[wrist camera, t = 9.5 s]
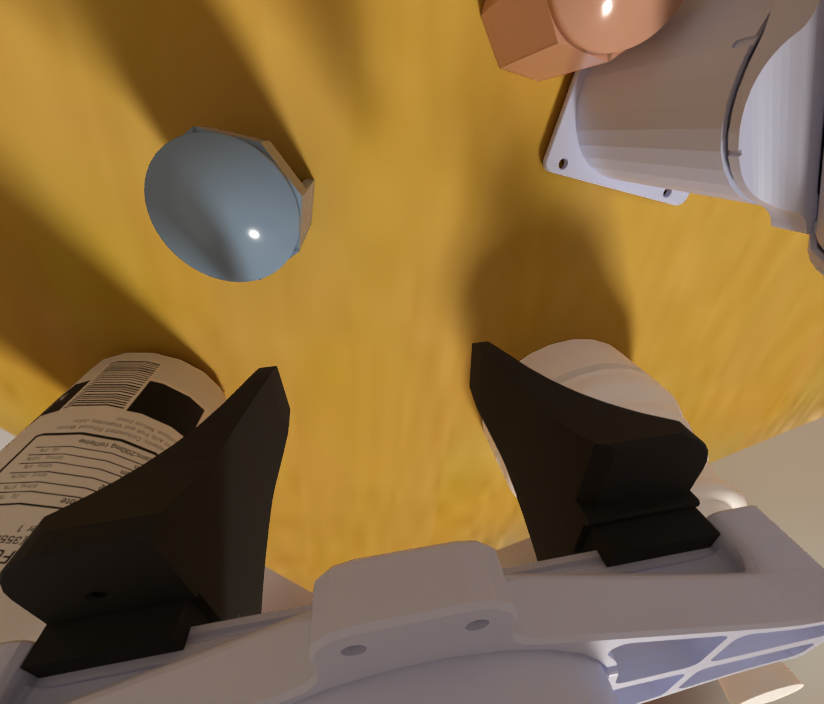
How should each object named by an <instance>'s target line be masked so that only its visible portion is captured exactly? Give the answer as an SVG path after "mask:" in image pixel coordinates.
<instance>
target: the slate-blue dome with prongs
mask: <svg viewBox="0 0 824 704" xmlns="http://www.w3.org/2000/svg"><path fill="white" fill-rule="evenodd" d="M144 192H145V202H146V206H147V211H148V213H149V216H150V219H151V221H152V223H153V225H154V227H155V229H156V231H157V233H158V234H159V236H160V237H161V239H162V240H163V241H164V243H165V244H166V245H167V246H168V248H169V249H170V250H171V251H172V252H173V253H174V254H175V255H176V256H178V257H179V258H180V259H181V260H182V261H183V262H185V263H186V264H188V265H189V266H191V267H192V268H194V269H196V270H198V271H199V272H201V273H203V274H206V275H208V276H211V277H214V278H217V279H220V280H226V281H233V282H248V281H254V280H261V279H262V278H264V277H266V276H269V275H271V274H272V273H274V272H276V271H277V270H278V269H279V268H281V267H282V266H283V265H284V264H285V262H286V261H287V260H288V259H289V258H291V257H292V256H293V255H295V254H296V253H298V252H299V251H300V249H301V246H302V244H303V241H304V239H305V237H306V234H307V232H308V230H309V227H310V225H311V223H312V222H311V221H312V207H313V194H314V180H311V179H307V178H306V179H305V180H304V181H303V182H302V183H301V181H300V180H299V179H298V177H297V176H296V175H295V173H294V172H293V171H292V169H291V168H290V167H289V165H288V164H287V163H286V161H285V160H284V159H283V157H282V156H281V155H280V153H279V152H278V151H277V149H276V148H275V147H274V145H273V144H272V143H271V141H267V140H263V139H259V138H255V137H250V136H246V135H242V134H238V133H234V132H230V131H225V130H221V129H217V128H213V127H203V126H193V127H192V128H191V129H189V130H188V131H187V132H186V133H185V134H184V135H183V136H179V137H177V138H175V139H173V140H171V141H169V142H168V143H167V144H165V145H164V146H163V147H162V148H161V149H160V150H159V151H158V152H157V153H156V154H155V156H154V157H153V159H152V161H151V162H150V164H149V167H148V170H147V173H146V178H145V188H144Z"/></svg>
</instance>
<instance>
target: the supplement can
mask: <svg viewBox="0 0 824 704" xmlns="http://www.w3.org/2000/svg"><path fill="white" fill-rule="evenodd" d="M225 401H226V398H225V396H224V394H223V392H222V390H221V388H220V387H219V386H218V385H217V384H216V383H215V382H214V381H213V380H212V379H211V378H210V377H209V376H208V375H207V374H206V373H205V372H203V371H201V370H199V369H197V368H195V367H193V366H192V365H190V364H188V363H186V362H184V361H182V360H180V359H176V358H172V357H168V356H164V355H160V354H156V353H123V354H120V355H117V356H113V357H110V358H106V359H103V360H102V361H100V362H99V363H98V364H97V365H95V366H94V367H93V368H92V369H91V370H89V371H88V372H87V373H86V374H85V375H84V376H83V377H81V378H80V379H79V380H78V381H77V382H76V383H75V384H74V385H73V386H72V387H70V388H69V389H68V390H67V391H66V392H65V393H64V394H63V395H62V396H61V397H59V398H58V399H57V400H56V401H55V402H54V403H53V404H52V405H51V406H50V407H48V408H47V409H46V410H45V411H44V412H43V413H42V414H41V415H40V416H39V417H37V418H36V419H35V420H34V421H33V422H32V423H31V424H30V425H29V426H28V427H26V428H25V429H24V430H23V431H22V432H21V433H20V434H19V435H18V436H17V437H16V438H14V439H13V440H12V441H11V442H10V443H9V444H8V445H7V446H6V447H5V448H3V449H2V450H1V451H0V572H1V570H2V569H3V568H4V567H5V565H6V564H7V563H8V562H9V560H10V559H11V558H12V557H13V555H14V554H15V553H16V552H17V550H18V549H19V548H20V546H21V545H22V544H23V543H24V541H25V540H26V539H27V538H28V536H29V535H30V534H31V533H32V531H33V530H34V529H35V528H36V526H37V525H38V524H39V523H40V521H41V520H42V519H43V518H44V517H45V516H47V515H49V514H51V513H53V512H56V511H58V510H60V509H62V508H64V507H66V506H68V505H70V504H72V503H74V502H76V501H78V500H80V499H82V498H84V497H86V496H88V495H90V494H92V493H94V492H96V491H98V490H100V489H101V488H103V487H105V486H107V485H109V484H111V483H112V482H114V481H116V480H118V479H120V478H121V477H123V476H125V475H126V474H128V473H130V472H132V471H133V470H135V469H137V468H138V467H140V466H142V465H143V464H145V463H146V462H148V461H149V460H151V459H152V458H154V457H155V456H157V455H158V454H160V453H161V452H163V451H164V450H166V449H167V448H169V447H170V446H172V445H173V444H175V443H176V442H177V441H179V440H180V439H181V438H183V437H184V436H185V435H187V434H188V433H189V432H191V431H192V430H193V429H194V428H196V427H197V426H198V425H199V424H201V423H202V422H203V421H204V420H205V419H206V418H207V417H209V416H210V415H211V414H212V413H213V412H214V411H215V410H216V409H217V408H219V407H220V406H221V405H222V404H223V403H224V402H225ZM46 625H47V624H45V623H44V622H43V621H41V620H40V619H38V618H37V617H35V616H34V615H32V614H31V613H29V612H28V611H27V610H25V609H24V608H22V607H21V606H19V605H18V604H16V603H15V602H13V601H12V600H11V599H10V598H9V597H8V596H7V595H5V594H4V593H3V591H2V588H1V585H0V643H3V642H8V641H14V640H30V641H35V642H36V641H37V639H38V638H39V636H40V634H41V633H42V631H43V629H44V628H45V626H46Z"/></svg>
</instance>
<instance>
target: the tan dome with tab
mask: <svg viewBox="0 0 824 704" xmlns="http://www.w3.org/2000/svg"><path fill="white" fill-rule="evenodd" d="M683 1H684V0H485V2H484V6H483V10H482V14H481V18H482V20H483V23H484V26H485V29H486V31H487V34H488V37H489V40H490V42H491V45H492V48H493V51H494V53H495V56H496V59H497V62H498V64H499V67H500V68H501V69H504V70H507V71H510V72H513V73H515V74H518V75H521V76H524V77H527V78H530V79H533V80H536V81H542V80H546V79H549V78H553V77H557V76H560V75H564V74H567V73H571V72H575V71H578V70H582V69H586V68H589V67H593V66H596V65H600V64H604V63H607V62H609V61H611V60H612V59H614V58H615V57H616V56H618V55H619V54H620V53H622V52H623V51H625V50H626V49H629V48H632V47H634V46H636V45H638V44H640V43H642V42H643V41H645V40H647V39H648V38H650V37H651V36H652V35H653V34H655V33H656V32H657V31H658V30H660V29H661V28H662V27H663V26H664V25H665V24H666V23H667V22H668V20H669V19H670V18H671V17H672V16H673V15H674V13H675V12H676V11H677V10H678V8H679V7H680V5H681V4H682V3H683Z"/></svg>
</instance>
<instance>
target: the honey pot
mask: <svg viewBox="0 0 824 704" xmlns="http://www.w3.org/2000/svg"><path fill="white" fill-rule="evenodd" d="M519 362H521V363H523V364H524V365H526V366H528V367H529V368H531V369H533V370H534V371H536V372H538V373H540V374H541V375H543V376H545V377H547V378H549V379H551V380H553V381H555V382H557V383H559V384H561V385H563V386H565V387H568V388H570V389H572V390H574V391H577V392H579V393H582V394H584V395H587V396H589V397H592V398H595V399H598V400H601V401H603V402H606V403H609V404H613V405H616V406H619V407H623V408H626V409H630V410H633V411H637V412H641V413H645V414H649V415H654V416H658V417H663V418H668V419H672V420H677V421H680V422H681V423H682V424H683V425H684V426H685V427H687V428H688V429H689V430H690V431H691V432H692V433H693V431H692V429H691V427H690V425H689V423H688V422H687V420H686V419H685V418H684V417H683V416H682V412H681V409H680V407H679V405H678V403H677V401H676V399H675V398H674V397H673V395H672V394H671V393H670V392H669V391H668V390H666V389H665V388H664V387H662V386H661V385H660V384H659V383H658V382H656V381H655V380H654V379H653V378H652V377H650V376H649V375H648V374H647V373H645V372H644V371H643V370H642V369H641V368H639V367H638V366H637V365H636V364H634V363H633V362H632V361H631V360H629V359H628V358H627V357H626V356H624V355H623V354H622V353H621V352H619V351H618V350H617V349H615V348H614V347H613V346H611V345H610V344H607V343H604V342H600V341H597V340H594V339H572V340H567V341H563V342H559V343H554V344H550V345H548V346H546V347H544V348H542V349H539V350H537V351H535V352H533V353H530V354H529V355H527V356H526V357H525V358H523V359H522V360H520V361H519ZM482 423H483V431H484V433H485V436H486V438H487V440H488V442H489V444H490V447H491V449H492V451H493V453H494V456H495V458H496V460H497V462H498V464H499V467H500V469H501V471H502V473H503V475H504V478H505V480H506V482H507V484H508V486H509V488H510V490H511V491H512V493H513V494H514V495H515V496H516V493H515V490H514V488H513V485H512V482H511V480H510V477H509V474H508V472H507V469H506V466H505V464H504V462H503V459H502V457H501V455H500V453H499V451H498V449H497V447H496V445H495V443H494V441H493V439H492V437H491V435H490V433H489V431H488V429H487V427H486V425H485V423H484V421H483V419H482ZM690 491H691V492H692V493H693V494H694V495H695V496H696V497H697V498H698V499H699V501H700V505H699V506H698V507H696V508H697V509H698V510H699V511H700V512H701V513H702V514H703V515H704V516H705V517H706V518H707V517H708V516H709V515H711V514H713V513H715V512H718V511H723V510H728V509H734V508H739V507H745V506H747V503H746V501H745V498H744V496H743V494H742V493H741V491H739V490H738V489H736V488H735V487H733V486H731V485H730V484H728V483H727V482H725V481H721V480H718V479H717V477H716V475H715V473H714V471H713V469H712V468H711V466H710V464H709V462H708V458H707V462H706V464H705V467H704V469H703V470H702V472H701V474H700V475H699V477H698V478H697V480H696V482H695V483H694V485H693V486H692V488H691V490H690ZM516 497H517V496H516ZM718 681H719V683H720V685H721V687H722V689H723V691H724V693H725V695H726V697H727V698H728V700H729V702H730V704H765V703H768V702H771V701H773V700H776V699H779V698H782V697H784V696H786V695H789V694H791V693H793V692H795V691H797V690H799V689H800V688H802V687H803V686H804V685H803V683H801V681H800V680H799V679H798V678H797V677H796V676H795V675H794V674H793V672H792V671H791V670H790V669H789V668H788V667H787V666H786V665H784V663H782V662H781V661H780V662H776V663H773V664H769V665H765V666H761V667H758V668H754V669H751V670H747V671H743V672H740V673H736V674H733V675H730V676H727V677H723V678H720V679H718Z"/></svg>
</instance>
